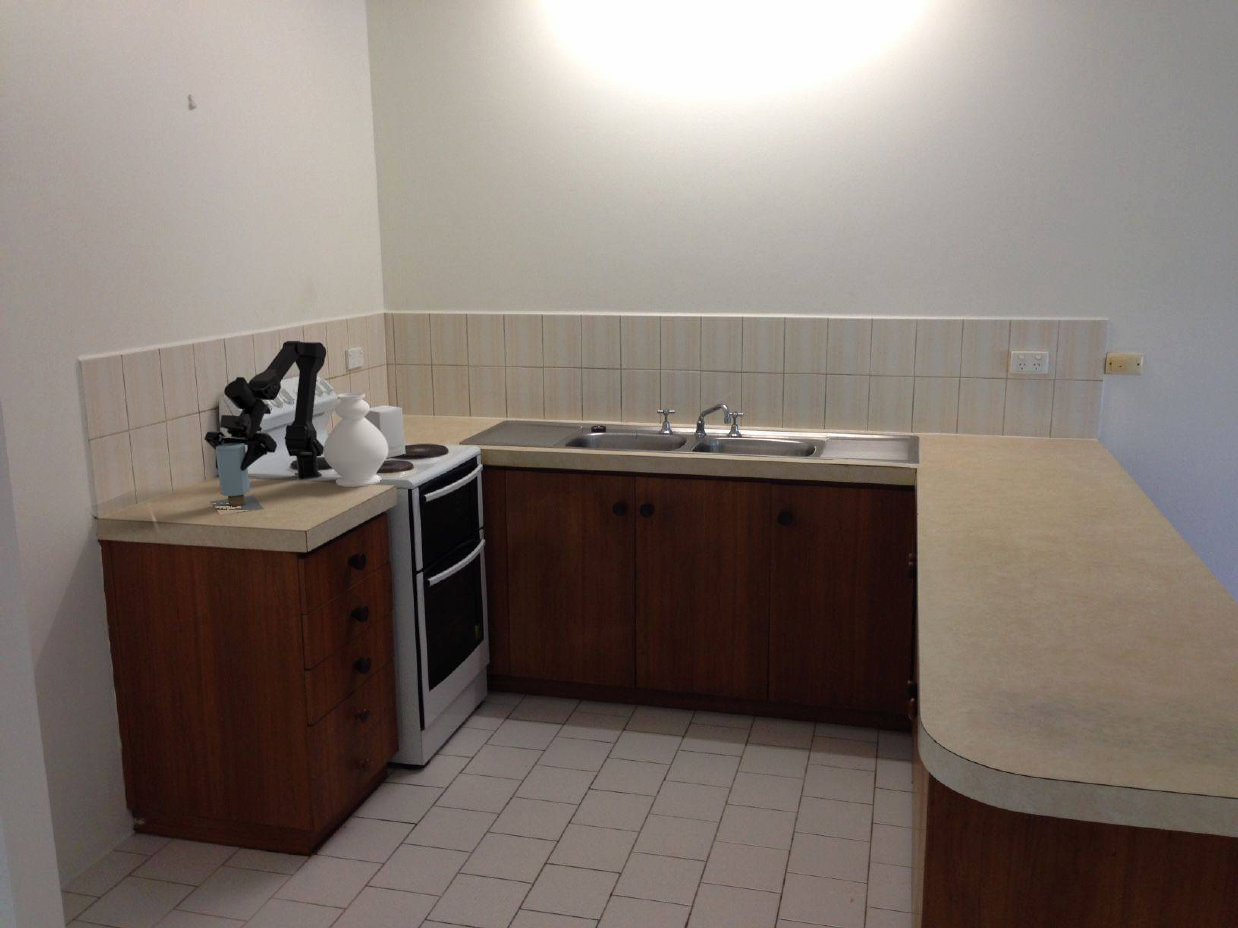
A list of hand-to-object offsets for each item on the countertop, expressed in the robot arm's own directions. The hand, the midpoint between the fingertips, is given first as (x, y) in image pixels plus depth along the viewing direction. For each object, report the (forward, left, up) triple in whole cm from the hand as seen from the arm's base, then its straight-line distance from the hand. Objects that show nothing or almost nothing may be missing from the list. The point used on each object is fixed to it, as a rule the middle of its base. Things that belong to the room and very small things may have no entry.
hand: (229, 469), depth 282 cm
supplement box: (-39, +51, -11) cm, 65 cm away
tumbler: (-1, +1, -7) cm, 7 cm away
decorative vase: (-10, +35, -11) cm, 38 cm away
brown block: (-1, +1, -10) cm, 10 cm away
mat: (-1, +1, -10) cm, 11 cm away
